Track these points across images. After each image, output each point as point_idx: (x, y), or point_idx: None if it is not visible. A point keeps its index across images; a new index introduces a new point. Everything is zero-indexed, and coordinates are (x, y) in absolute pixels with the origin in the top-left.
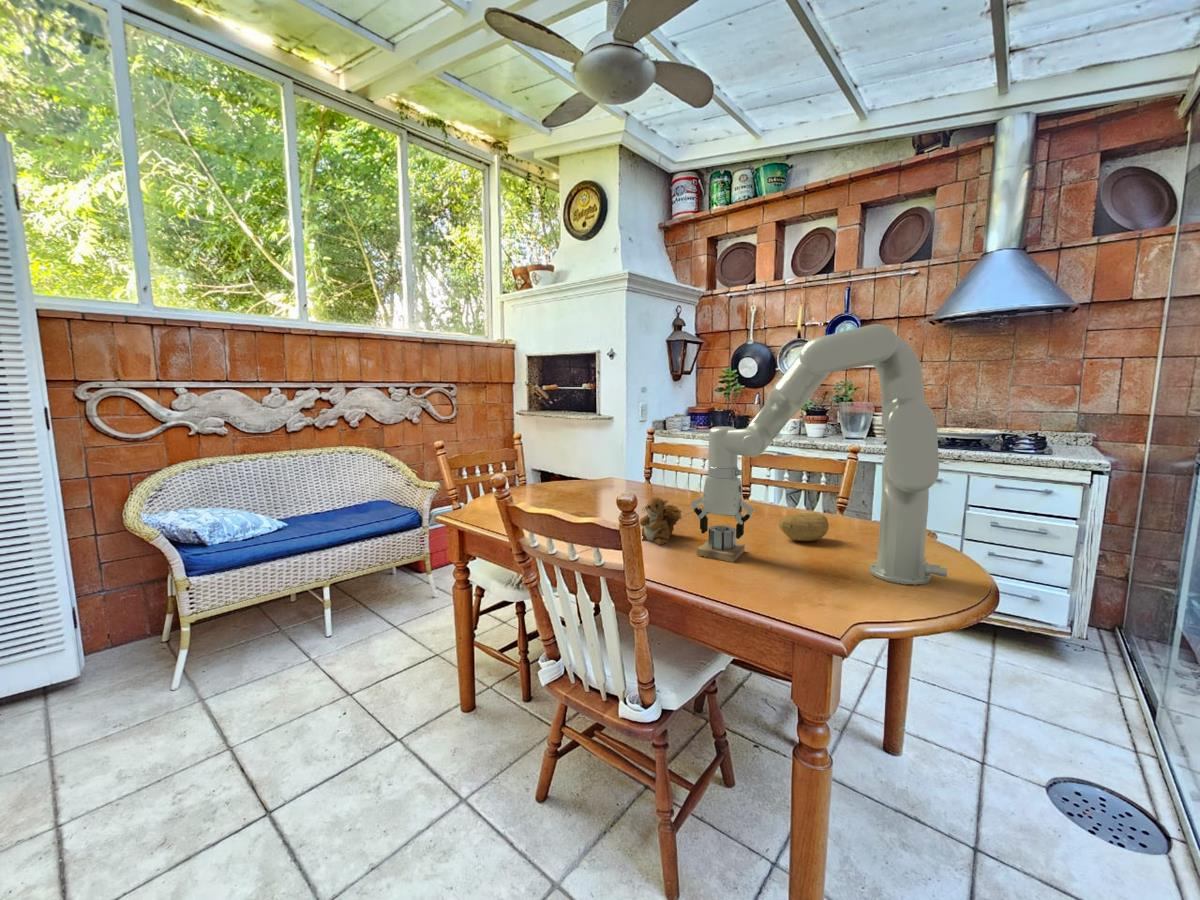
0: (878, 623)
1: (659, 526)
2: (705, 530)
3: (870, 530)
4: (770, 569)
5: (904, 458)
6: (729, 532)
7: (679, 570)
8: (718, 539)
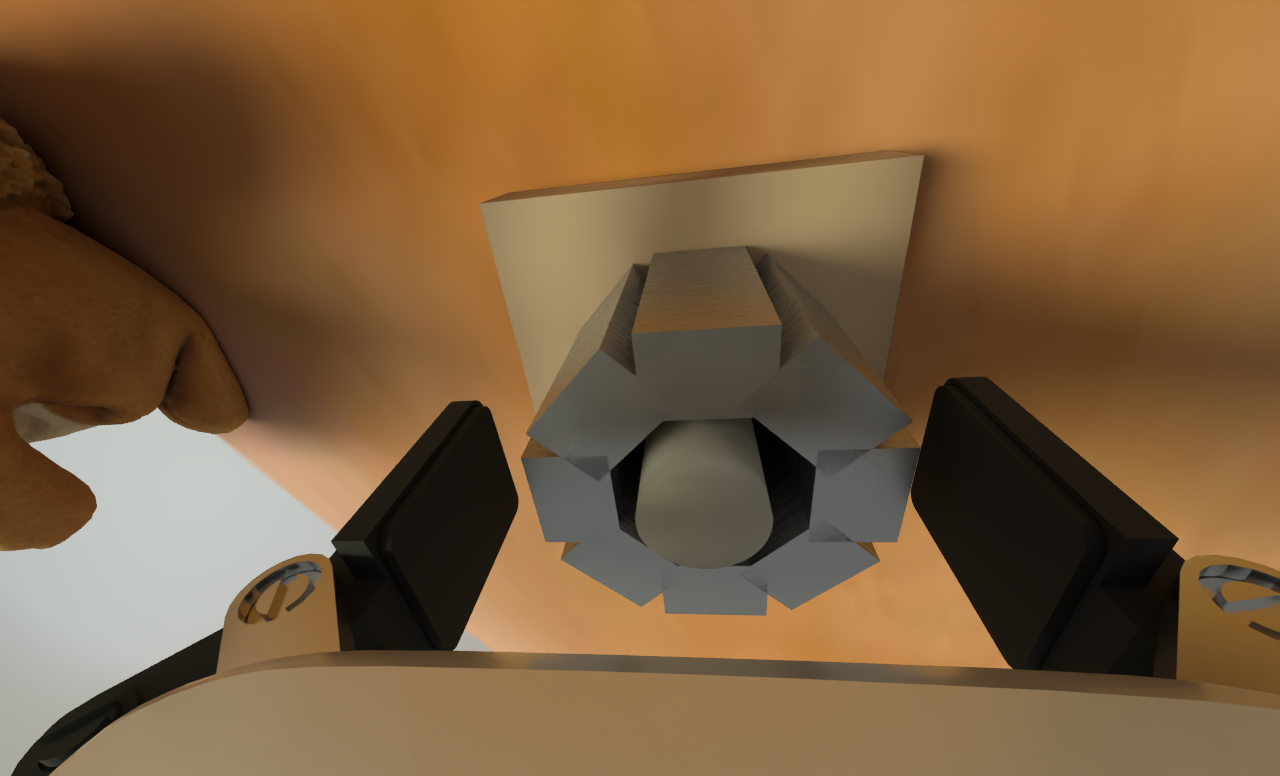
0: None
1: (41, 473)
2: (499, 476)
3: None
4: (1140, 460)
5: None
6: (850, 572)
7: (617, 650)
8: None
